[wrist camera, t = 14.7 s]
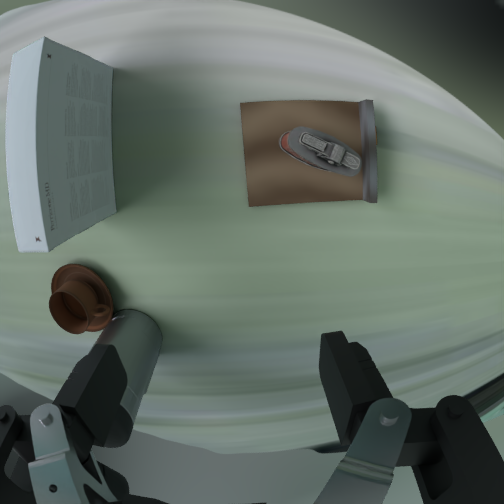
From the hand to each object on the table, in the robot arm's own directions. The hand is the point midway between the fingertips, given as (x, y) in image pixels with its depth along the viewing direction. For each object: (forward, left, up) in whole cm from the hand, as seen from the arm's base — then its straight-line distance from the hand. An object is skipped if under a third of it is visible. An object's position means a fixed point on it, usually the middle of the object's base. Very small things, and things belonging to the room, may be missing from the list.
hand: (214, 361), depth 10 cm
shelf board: (+7, -10, -28) cm, 31 cm away
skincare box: (+12, +18, -28) cm, 36 cm away
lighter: (+7, -10, -27) cm, 30 cm away
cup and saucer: (-11, +25, -28) cm, 40 cm away
